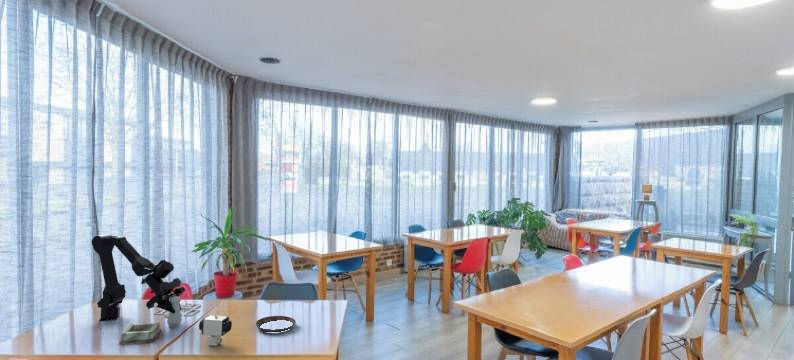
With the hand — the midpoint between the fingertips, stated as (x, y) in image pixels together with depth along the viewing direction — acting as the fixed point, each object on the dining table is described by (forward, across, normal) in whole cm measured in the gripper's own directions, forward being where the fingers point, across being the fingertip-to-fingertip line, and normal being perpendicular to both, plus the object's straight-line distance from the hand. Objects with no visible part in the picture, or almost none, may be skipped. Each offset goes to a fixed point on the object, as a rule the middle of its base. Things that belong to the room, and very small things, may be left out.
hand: (177, 311), depth 183 cm
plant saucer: (+35, +10, -25) cm, 45 cm away
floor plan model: (-2, +18, +12) cm, 22 cm away
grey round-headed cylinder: (+4, 0, +6) cm, 7 cm away
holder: (+1, -15, +8) cm, 17 cm away
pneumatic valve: (+24, -13, -15) cm, 31 cm away
